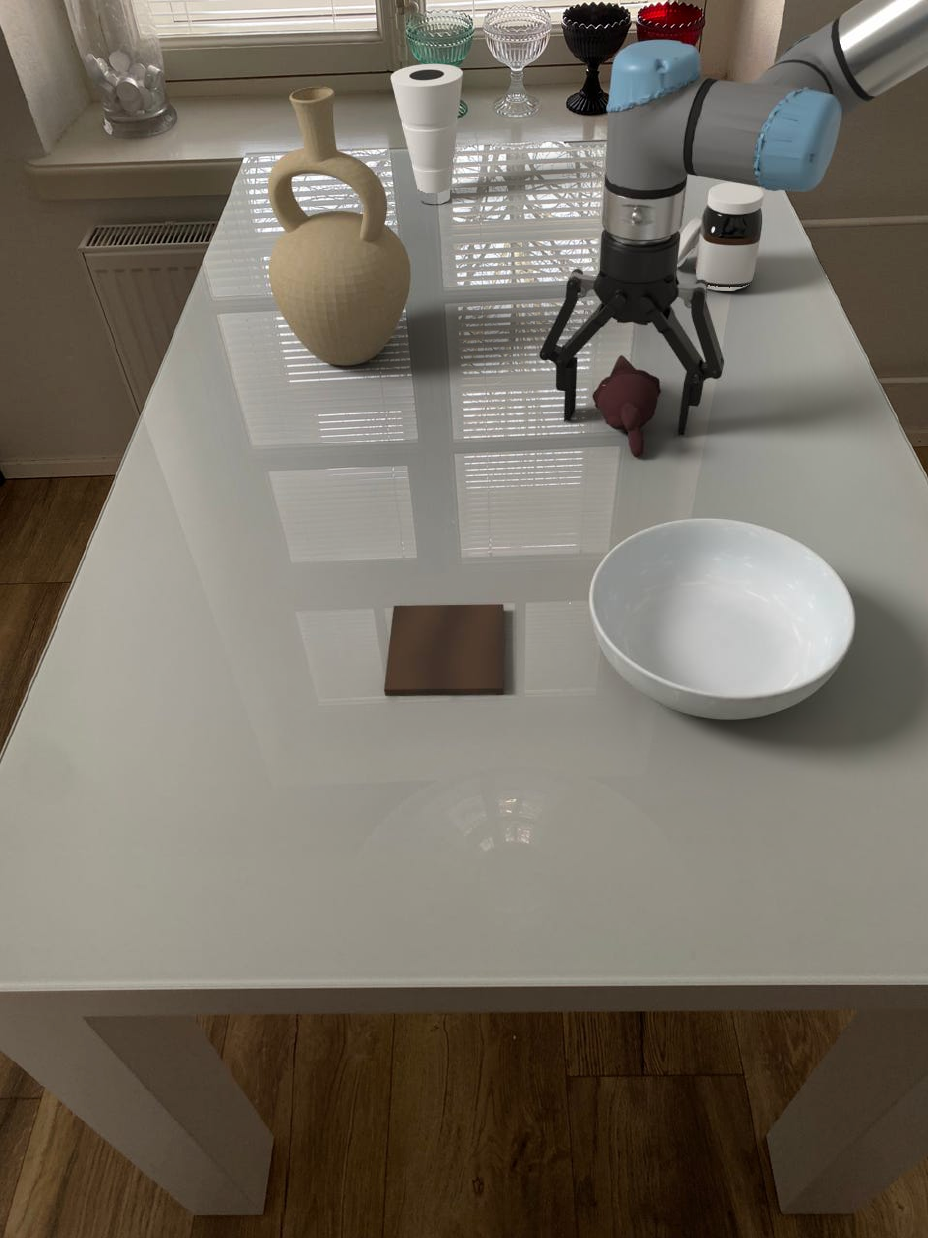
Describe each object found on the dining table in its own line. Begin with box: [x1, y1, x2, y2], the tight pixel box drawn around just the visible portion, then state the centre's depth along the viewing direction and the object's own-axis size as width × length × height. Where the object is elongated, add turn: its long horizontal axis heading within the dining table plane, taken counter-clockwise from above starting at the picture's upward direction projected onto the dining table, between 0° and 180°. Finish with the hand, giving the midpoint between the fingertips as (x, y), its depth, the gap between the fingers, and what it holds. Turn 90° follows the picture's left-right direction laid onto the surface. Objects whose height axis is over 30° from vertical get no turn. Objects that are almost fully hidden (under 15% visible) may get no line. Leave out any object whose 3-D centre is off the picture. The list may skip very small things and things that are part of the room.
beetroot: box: [592, 354, 662, 458], centre depth 105 cm, size 7×7×15 cm
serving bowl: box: [588, 517, 856, 721], centre depth 80 cm, size 21×21×7 cm
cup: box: [390, 63, 464, 193], centre depth 147 cm, size 11×11×18 cm
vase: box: [267, 86, 412, 367], centre depth 110 cm, size 17×17×30 cm
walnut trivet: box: [383, 603, 505, 696], centre depth 84 cm, size 10×10×1 cm
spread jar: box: [677, 181, 765, 288], centre depth 126 cm, size 12×11×12 cm
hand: (625, 421), depth 107 cm, fingers open, 12 cm apart
